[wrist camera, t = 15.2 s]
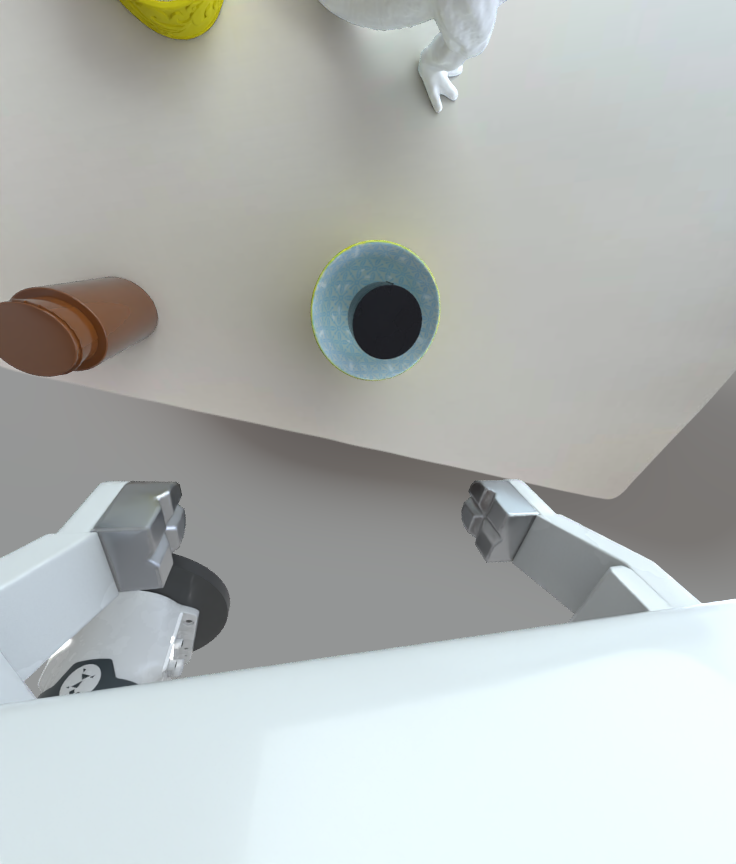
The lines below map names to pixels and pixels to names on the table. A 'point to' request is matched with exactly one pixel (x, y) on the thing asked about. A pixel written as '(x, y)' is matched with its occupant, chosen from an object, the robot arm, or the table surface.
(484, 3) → the dinosaur figurine
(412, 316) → the lid
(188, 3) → the bracelet
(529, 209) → the table surface
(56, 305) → the jar
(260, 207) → the table surface
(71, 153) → the table surface
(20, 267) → the table surface
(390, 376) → the bowl
